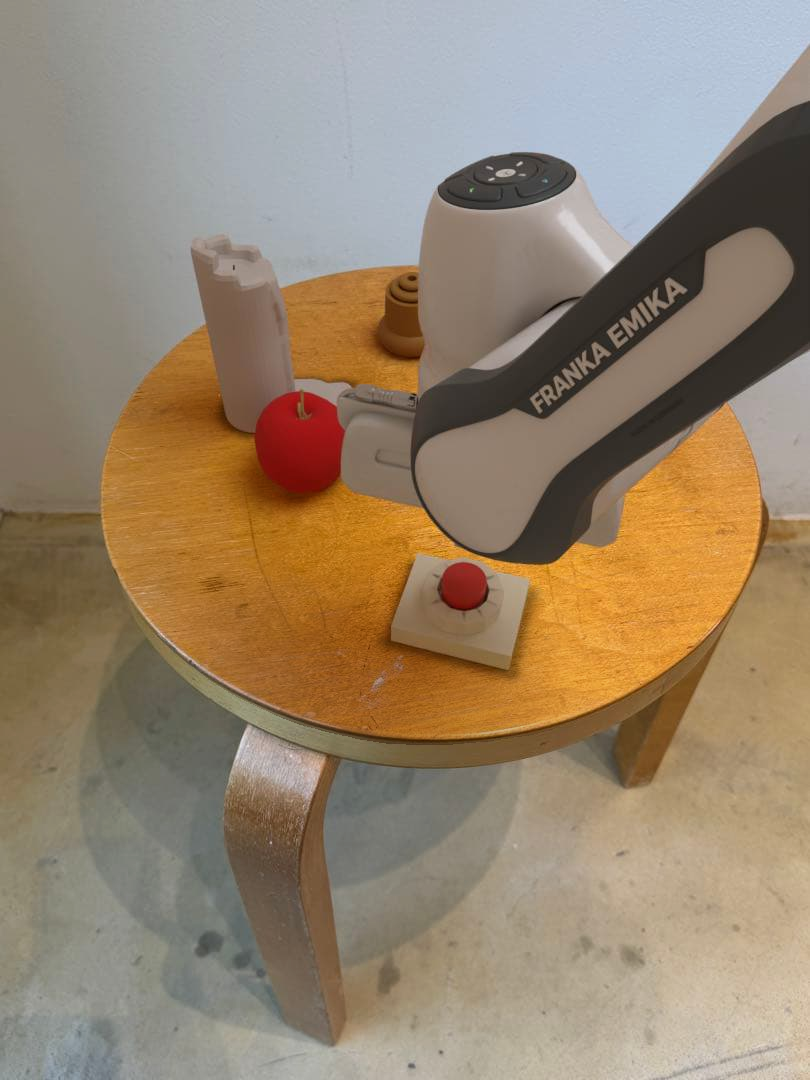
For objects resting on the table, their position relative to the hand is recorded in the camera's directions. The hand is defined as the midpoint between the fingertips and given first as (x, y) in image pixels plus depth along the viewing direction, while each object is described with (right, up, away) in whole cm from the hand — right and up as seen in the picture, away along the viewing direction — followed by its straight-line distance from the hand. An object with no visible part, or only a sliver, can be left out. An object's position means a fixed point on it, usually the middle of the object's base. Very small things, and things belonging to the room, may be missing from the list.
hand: (475, 544), depth 65 cm
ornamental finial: (-5, +23, +31) cm, 39 cm away
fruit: (-15, +7, +18) cm, 24 cm away
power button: (-1, -4, +4) cm, 6 cm away
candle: (-17, +14, +24) cm, 33 cm away
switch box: (-1, -6, +7) cm, 9 cm away
